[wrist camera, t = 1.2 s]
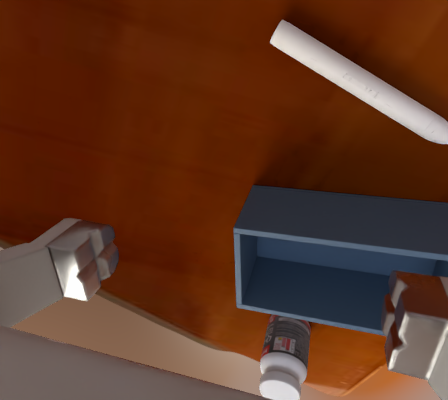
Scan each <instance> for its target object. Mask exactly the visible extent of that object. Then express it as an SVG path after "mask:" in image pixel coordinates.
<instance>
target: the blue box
mask: <svg viewBox="0 0 448 400" xmlns="http://www.w3.org/2000/svg"><path fill="white" fill-rule="evenodd" d="M234 252H235V278H236V305H237V308H242V309H247V310H252V311H258V312H263V313H268V314H274V315H279V316H284V317H289V318H295V319H300V320H305V321H310V322H316V323H321V324H326V325H332V326H337V327H342V328H347V329H353V330H358V331H363V332H368V333H374V334H379V335H384V334H383V333H382V325H381V313H382V305H383V301H384V296H385V295H387V294H388V293H390V290H389V284H388V281H389V278H390V274H391V272H392V270H397V271H404V272H410V273H417V274H424V275H431V276H442V277H448V203H444V202H433V201H422V200H411V199H400V198H389V197H378V196H367V195H356V194H345V193H335V192H324V191H313V190H302V189H291V188H280V187H269V186H258V185H253V186H252V188H251V191H250V193H249V195H248V197H247V200H246V202H245V204H244V206H243V208H242V211H241V213H240V215H239V217H238V220H237V222H236V224H235V226H234ZM384 336H385V335H384Z"/></svg>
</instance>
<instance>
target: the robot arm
mask: <svg viewBox="0 0 448 400" xmlns="http://www.w3.org/2000/svg"><path fill="white" fill-rule="evenodd" d="M114 238H115V234H114V230H113V227H111V226H110V225H108V224H102V223H97V222H91V221H86V220H80V219H74V218H66V219H64V220H62V221H61V222H59V223H58V224H57V225H55V226H54V227H52V228H51V229H50V230H48V231H47V232H45V233H44V234H42V235H41V236H40V237H38V238H37V239H35V240H34V241H33V242H31V243H30V244H28V243H24V244H21V245H17V246H14V247H11V248H8V249H4V250H1V251H0V400H273V399H269V398H265V397H262V396H258V395H254V394H251V393H247V392H243V391H240V390H236V389H232V388H229V387H225V386H221V385H217V384H214V383H210V382H207V381H203V380H199V379H196V378H192V377H188V376H185V375H181V374H177V373H174V372H170V371H166V370H163V369H159V368H155V367H152V366H148V365H144V364H141V363H137V362H133V361H129V360H126V359H122V358H119V357H115V356H111V355H108V354H104V353H100V352H97V351H93V350H89V349H86V348H82V347H78V346H74V345H71V344H67V343H64V342H60V341H56V340H53V339H49V338H45V337H42V336H38V335H34V334H31V333H26V332H23V331H20V330H16V329H12V328H10V327H12V326H13V325H15V324H17V323H19V322H21V321H22V320H24V319H26V318H28V317H30V316H31V315H33V314H35V313H37V312H39V311H40V310H42V309H44V308H46V307H48V306H49V305H51V304H53V303H55V302H57V301H58V300H60V299H62V298H63V296H64V297H69V298H74V299H79V300H84V301H88V300H89V299H90V298H91V297H92V296H93V295H94V294H95V292H96V291H97V290H98V289H99V288H100V287H101V281H102V280H104V279H106V278H108V277H110V276H111V275H112V273H113V272H114V271H115V269H116V266H117V264H118V257H119V254H118V248H117V247H116V246H115V245H114V244H113V242H112V241H113V240H114ZM388 284H389V290H390V293H388V294H387V295H385V296H384V301H383V305H382V313H381V325H382V333H383V334H384V335H385V336H386V337H387V340H386V343H385V354H386V360H387V367H388V370H389V371H393V372H397V373H401V374H405V375H409V376H413V377H417V378H421V379H424V380H428V383H429V385H430V386H431V387H432V388H433V390H434V391H435V392H436V394H437V395H438V396H439V398H440V399H441V400H448V277H442V276H431V275H424V274H417V273H410V272H404V271H397V270H392V272H391V274H390V278H389V281H388Z"/></svg>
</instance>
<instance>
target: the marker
mask: <svg viewBox="0 0 448 400" xmlns="http://www.w3.org/2000/svg"><path fill="white" fill-rule="evenodd" d="M270 43H271V44H272V45H274V46H275V47H276V48H278V49H280V50H281V51H283V52H284V53H286V54H288V55H289V56H291V57H293V58H294V59H296V60H298V61H299V62H301V63H302V64H304V65H306V66H307V67H309V68H311V69H312V70H314V71H315V72H317V73H319V74H320V75H322V76H324V77H325V78H327V79H328V80H330V81H332V82H333V83H335V84H337V85H338V86H340V87H341V88H343V89H345V90H346V91H348V92H350V93H351V94H353V95H354V96H356V97H358V98H359V99H361V100H363V101H364V102H366V103H367V104H369V105H371V106H372V107H374V108H376V109H377V110H379V111H380V112H382V113H384V114H385V115H387V116H389V117H390V118H392V119H393V120H395V121H397V122H398V123H400V124H402V125H403V126H405V127H406V128H408V129H410V130H411V131H413V132H415V133H416V134H418V135H419V136H421V137H423V138H424V139H426V140H429V141H431V142H435V143H439V144H448V122H447V121H446V120H445V119H444V118H442V117H441V116H439V115H438V114H436V113H435V112H433V111H431V110H430V109H428V108H426V107H425V106H423V105H421V104H420V103H418V102H417V101H415V100H413V99H412V98H410V97H409V96H407V95H405V94H404V93H402V92H400V91H399V90H397V89H396V88H394V87H392V86H391V85H389V84H387V83H386V82H384V81H383V80H381V79H379V78H378V77H376V76H374V75H373V74H371V73H370V72H368V71H366V70H365V69H363V68H362V67H360V66H358V65H357V64H355V63H353V62H352V61H350V60H349V59H347V58H345V57H344V56H342V55H340V54H339V53H337V52H336V51H334V50H332V49H331V48H329V47H328V46H326V45H324V44H323V43H321V42H319V41H318V40H316V39H315V38H313V37H311V36H310V35H308V34H306V33H305V32H303V31H302V30H300V29H298V28H297V27H295V26H293V25H292V24H290V23H289V22H286V21H284V20H281V22H280V23H279V25H278V27H277V28H276V30H275V32H274V34H273V36H272V38H271V40H270Z"/></svg>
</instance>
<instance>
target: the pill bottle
mask: <svg viewBox="0 0 448 400" xmlns="http://www.w3.org/2000/svg"><path fill="white" fill-rule="evenodd" d="M309 341H310V325H309V323H308V321H305V320H300V319H295V318H289V317H284V316H279V315H274V314H273V315H272V316H271V317H270V319H269V322H268V326H267V331H266V336H265V341H264V346H263V351H262V355H261V360H260V369H261V372H262V374H263V375H262V376H261V380H260V387H259V389H260V392H261V394H262V395H263V396H264V397H265V398H269V399H273V400H299V399H300V394H301V385H300V384H302V383H303V382H304V380H305V379H306V376H307V366H308V353H309Z"/></svg>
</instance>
